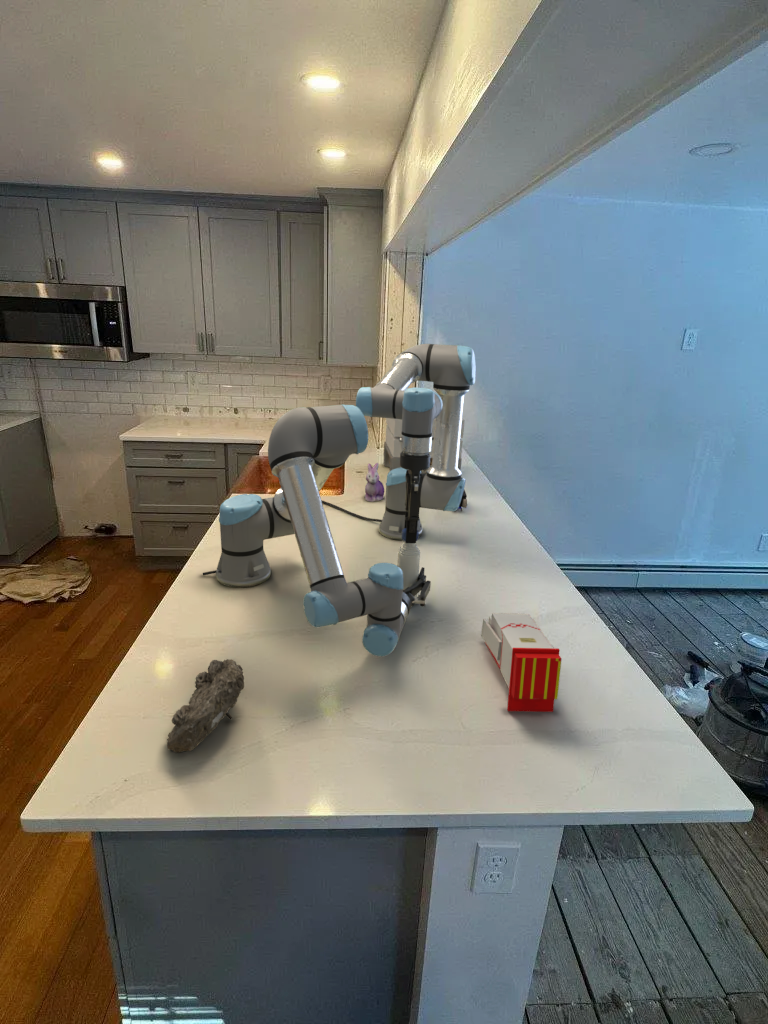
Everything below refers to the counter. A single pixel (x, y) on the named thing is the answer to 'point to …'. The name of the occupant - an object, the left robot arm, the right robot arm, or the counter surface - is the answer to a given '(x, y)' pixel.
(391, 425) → the grey slatted crate
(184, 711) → the fossil
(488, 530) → the counter surface
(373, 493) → the figurine
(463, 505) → the figurine character
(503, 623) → the toy
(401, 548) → the bottle
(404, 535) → the cap
